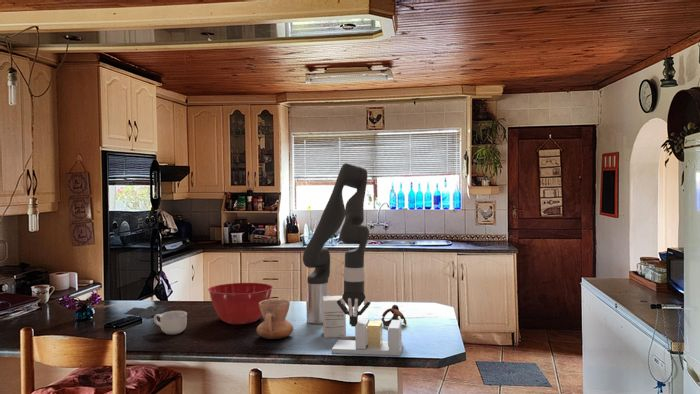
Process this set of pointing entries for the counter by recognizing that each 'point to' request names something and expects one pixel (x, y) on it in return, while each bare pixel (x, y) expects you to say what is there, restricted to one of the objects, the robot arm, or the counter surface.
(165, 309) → the dark slate chunk
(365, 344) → the jaw
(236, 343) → the counter surface
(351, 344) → the vise
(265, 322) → the ceramic jug
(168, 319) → the teacup
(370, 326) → the block
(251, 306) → the mixing bowl
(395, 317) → the dark brown curved loop
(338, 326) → the supplement box
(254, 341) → the counter surface
